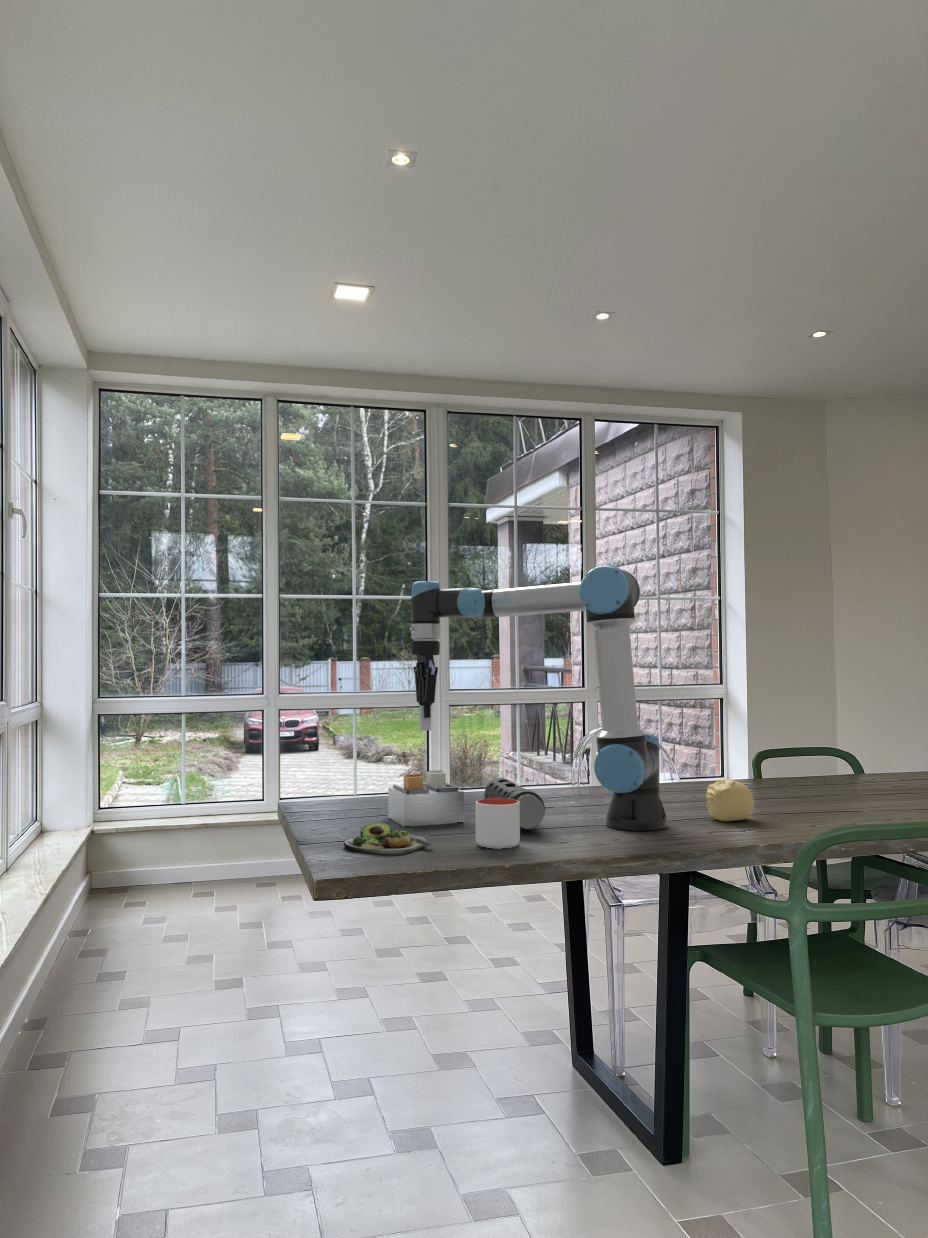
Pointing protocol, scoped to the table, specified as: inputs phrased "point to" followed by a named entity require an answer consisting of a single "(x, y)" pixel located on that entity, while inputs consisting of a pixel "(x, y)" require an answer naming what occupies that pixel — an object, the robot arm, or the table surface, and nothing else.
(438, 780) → the toggle white
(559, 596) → the robot arm
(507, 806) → the cup
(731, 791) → the sculpture
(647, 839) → the table surface
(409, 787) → the toggle orange
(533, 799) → the muzzle brake
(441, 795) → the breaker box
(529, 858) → the table surface
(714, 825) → the table surface
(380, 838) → the salad plate
